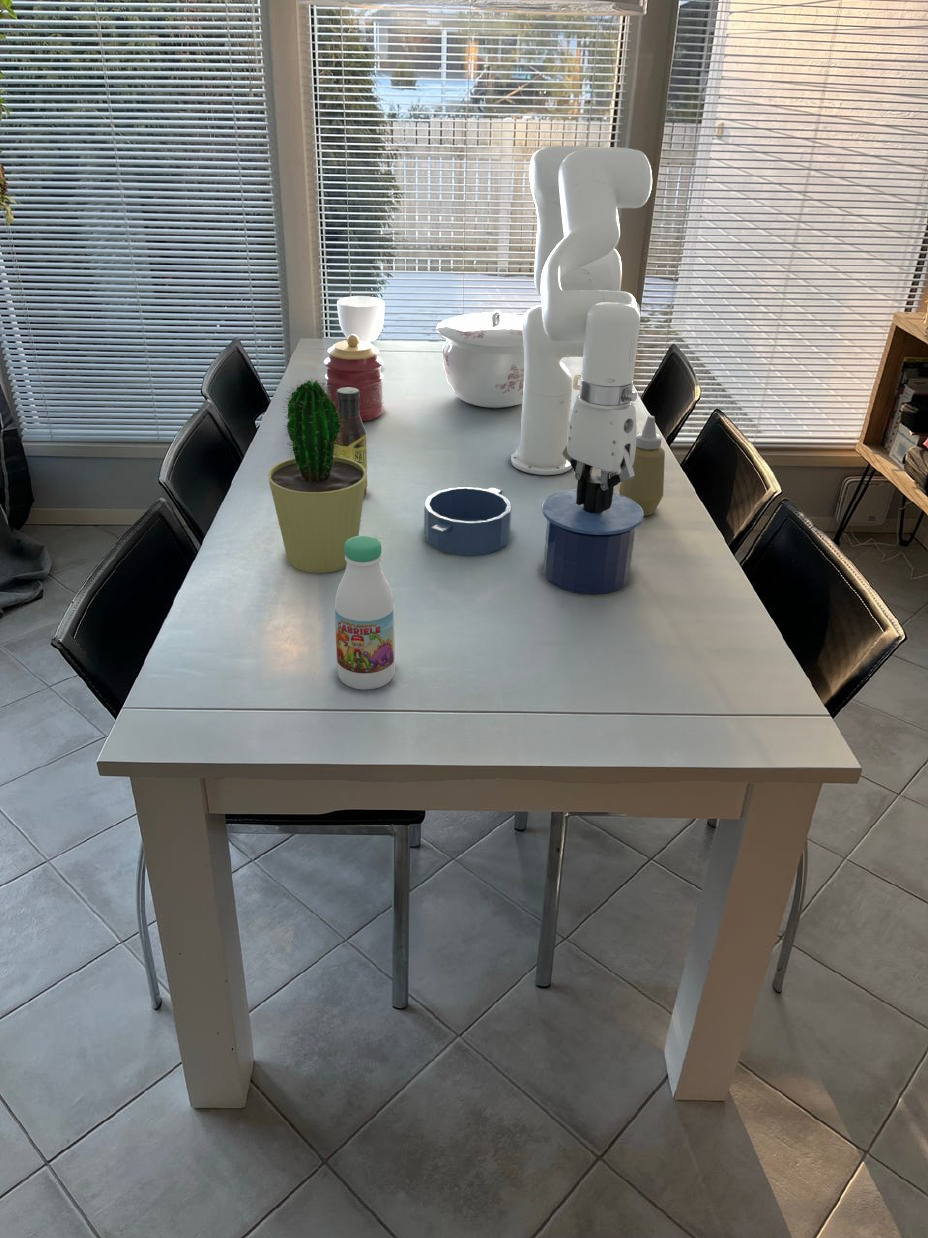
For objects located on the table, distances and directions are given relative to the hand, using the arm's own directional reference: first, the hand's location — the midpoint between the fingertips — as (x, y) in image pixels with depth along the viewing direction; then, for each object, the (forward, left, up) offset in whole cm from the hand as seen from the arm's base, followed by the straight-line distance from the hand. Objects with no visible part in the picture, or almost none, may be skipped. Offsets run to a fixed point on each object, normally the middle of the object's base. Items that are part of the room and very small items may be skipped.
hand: (593, 505), depth 150 cm
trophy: (-66, -28, -12) cm, 73 cm away
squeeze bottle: (-28, -2, -12) cm, 31 cm away
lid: (0, 0, -1) cm, 1 cm away
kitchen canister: (-41, -76, -12) cm, 87 cm away
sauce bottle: (-4, -50, -12) cm, 52 cm away
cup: (-69, -94, -12) cm, 117 cm away
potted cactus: (+19, -39, -12) cm, 45 cm away
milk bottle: (+43, -13, -12) cm, 47 cm away
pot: (0, 0, -12) cm, 12 cm away
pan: (-1, -23, -12) cm, 26 cm away
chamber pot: (-68, -55, -12) cm, 88 cm away
